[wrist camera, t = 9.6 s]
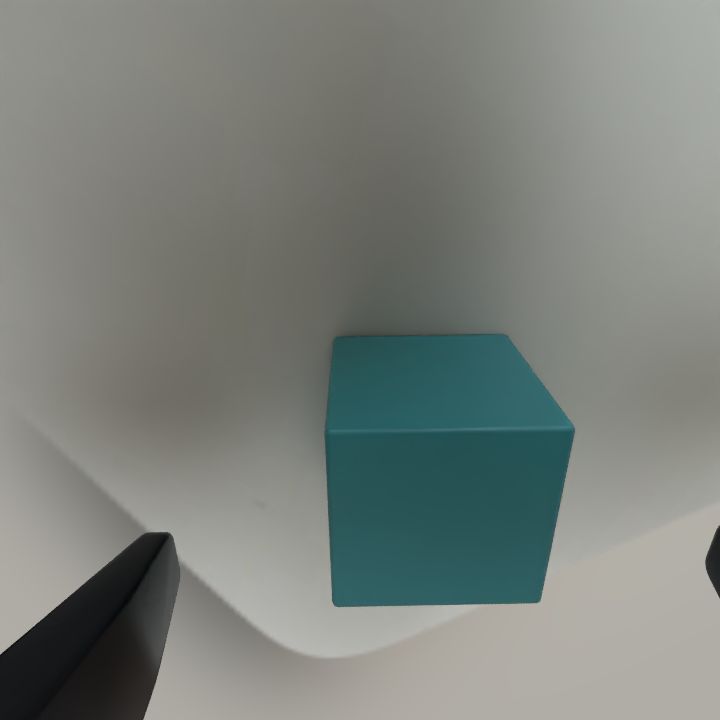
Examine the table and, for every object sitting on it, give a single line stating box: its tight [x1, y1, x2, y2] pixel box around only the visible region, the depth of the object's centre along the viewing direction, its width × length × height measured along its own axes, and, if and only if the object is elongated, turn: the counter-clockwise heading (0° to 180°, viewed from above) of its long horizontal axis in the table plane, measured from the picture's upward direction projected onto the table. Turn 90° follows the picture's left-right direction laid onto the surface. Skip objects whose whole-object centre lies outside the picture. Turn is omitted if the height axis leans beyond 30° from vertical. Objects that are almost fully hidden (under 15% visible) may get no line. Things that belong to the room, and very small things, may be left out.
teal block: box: [325, 334, 575, 607], centre depth 11 cm, size 4×4×4 cm
